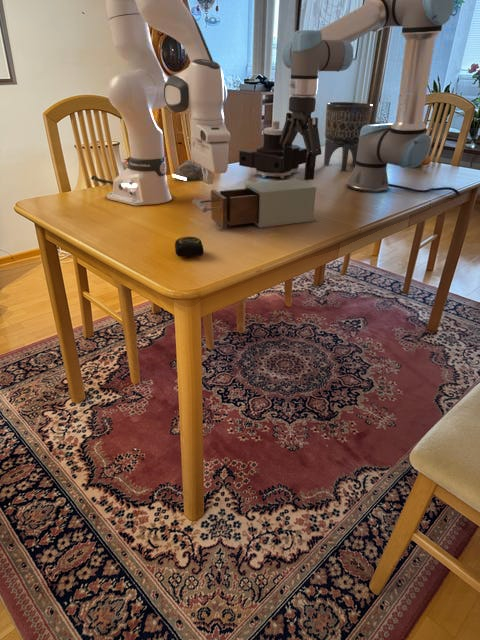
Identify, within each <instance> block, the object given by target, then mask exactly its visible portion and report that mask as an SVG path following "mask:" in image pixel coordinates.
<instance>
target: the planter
mask: <svg viewBox="0 0 480 640" xmlns="http://www.w3.org/2000/svg"><path fill="white" fill-rule="evenodd" d="M373 107H374V106H373V104H372V103H367V102H353V101H333V102H327V103H326V109H325V124H324V125H325V126H324V139H325V144H324V156H323V157H324V158H323V165H325V166H328V165H330V163H331V158H332V156H333V154H334V153H335V151H336V150H337V149H340V148H341V150H342V153H341V166H340V170H341V172H345V171H347V167H348V166H347V165H348V159H349V152H350V154H351V157H352V158H351V159H352V160H351V161H352V166H353V167H355V165H356V158H357V150H358V142H359V136H360V132H361V128H362V127H363V126H365V125H370V121H371V116H372V112H373Z"/></svg>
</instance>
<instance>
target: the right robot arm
mask: <svg viewBox="0 0 480 640" xmlns="http://www.w3.org/2000/svg"><path fill="white" fill-rule="evenodd" d="M454 9H455V0H365V1H364V2H363V4H362V5H361V6H360V7H358V8H356V9H354V10H353V11H351V12H349V13H347V14H345V15H344V16H342V17H340V18H337V19H336V20H334V21H333V22H331V23H329V24H328V25H326V26H324V27H321V28H320V29H319V30H317V29H316V30H315V29H306V30H305V29H299V30H296V31H294V33H293V35H292V40H290V41H288V42H286V44H285V45H284V47H283V49H282V62H283V65H284V66H285V67H286V68H287V69H290V83H289V95H291V96H290V97H289V98H288V111H289V112H286V115H285V122H284V125H283V127H282V128H283V131H282V135H281V138H280V144H282V147H283V166H282V170H291V162H292V147H293V146H292V145H293V143H294V141H295V139H296V138H297V135H298V133H299V134H300V135H301V136H302V140H303V143H304V147H305V149H306V150H307V153H308V154H307V155H306V163H304V165H305V167H304V181H312V180H314V179H315V169H316V162H317V156H321V155H322V146H321V140H320V133H319V118H318V117H317V116H316V117H312V113H315V111H316V108H317V107H316V106H317V98H316V96H317V95H318V85H319V73H320V72H337V73H338V72H344V71H346V70H348V69H349V68H350V67H351V66H352V65H353V61H354V57H355V50H354V46H353V44H352V43H353V42H355V41H356V40H358V39H360V38H362V37H363V36H365V35H367V34H369V33H370V32H374V33H377V32H378V31H381V30H382V29H385V28H386V29H387V28H391V27H401V36H403V38H404V39H405V45H404V53H403V60H402V70H401V77H400V83H399V84H400V85H399V94H398V101H397V109H396V118H395V121H394V122H393V123H379V124H376V123H375V124H369V125H365V126H363V127H362V128H361V132H360V136H359V142H358V150H357V158H356V165H355V166H354V167H353V171H351V174H350V176H349V179H348V182H347V187H348V188H349V189H351V190H354V191H358V192H363V193H364V192H365V193H382V192H386V191H388V189H389V187H390V188H395V189H401V190H406V191H410V192H414V193H420V194H421V193H422V194H423V193H424V194H425V193H429V192H436V191H451V192H454V193H455V194H456V195H460V194H461V193H460V192H459V190H457V189H456V188H455V187H450V186H445V187H443V186H442V187H431V188H426V189H416V188H413V187H412V188H411V187H407V186H404V185H397V184H392V183H389V178H388V173H387V172H388V171H387V166H388V165H392V166H396V167H400V168H402V169H403V168H407V169H414V168H417V167H418V166H419V165H420V164H421V163H422V162H423V161H424V159H425V158H427V157H428V155H429V153H430V150H431V146H432V139H431V136H430V135H429V134H428V133H426V131H427V125H426V124H425V122H424V121H423V120H424V119H423V118H424V113H425V106H426V100H427V95H428V94H427V93H428V85H429V79H430V73H431V67H432V59H433V54H434V48H435V47H434V46H435V39H436V38H437V37H438V36H439V35H440V34H441V33H442V30H443V29H442V28H443V25H445V24H446V23H448V22H449V21H450V19H451V16H452V15H453V12H454ZM284 139H285V140H284Z"/></svg>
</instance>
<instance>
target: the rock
mask: <svg viewBox="0 0 480 640" xmlns="http://www.w3.org/2000/svg"><path fill="white" fill-rule="evenodd" d="M175 175H177V176H181V177H185V178H186V180H182V179H179V178H175V179H176V180H180V181H187V182H189V181H196V180H197V181H198V180H200V179H201V178H204V176H203V173H202V166H201V165H200V164H198V163H196V162H194V161H191V160H188V159H185V161H184V162H183V163H181V165H180V166H178V167H177V168H176V172H175Z"/></svg>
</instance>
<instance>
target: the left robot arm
mask: <svg viewBox="0 0 480 640" xmlns="http://www.w3.org/2000/svg"><path fill="white" fill-rule="evenodd" d="M105 7H106V14H107V20H108V23H109V28H110V33H111V37H112V42H113V46H114V50H115V53H116V54H117V55H118V56H119V57H120V58H122V60H123V61H124V63H125V64H126V66H127V68H128V71H124V72H121V73H119V74H116V75H114V76H113V77H111V78H110V80H109V81H108V84H107V89H106V91H107V98H108V101H109V102H110V104H111V106H112V107H113V108H114V109H115V110H117V111H118V113H119V115H120V116H121V118H122V120H123V123H124V125H125V128H126V131H127V132H126V133H127V138H128V145H129V155H130V156H129V157H127V158H124V159H123V161H124V162H123V163H124V164H127V166H126V168H125V169H124V170H123V171H122V172H121V173H120V174H119V175H117V176H116V177H115V178H114V179H113V181H111V180H108V179H102V178H99V177H97V176H96V175H92V176H91V178H90V180H96V181H97V182H100V183H105V184H110V185H112V191H111V192H109V193H108V194H107V195H106V199H107V200H111V201H115V202H119V203H123V204H127V205H131V206H134V207H136V206H146V205H159V204H164V203H168V202H169V201H171V200H172V199H173V197H172V195H171V192H170V188H169V184H168V177H167V159H166V158H167V157H166V156H165V145H164V133H163V130H162V129H161V128H160V126H158V125H157V123H156V121H155V119H154V114H153V111H155V110H156V111H157V110H160V109H163V108H164V107H166V106H167V108H168V109H169V111H171V112H172V113H174V114H179V115H187V114H189V115H190V116H189V117H190V119H189V122H190V157H191V160H192V162H194V163H197V164H199V165H201V166H202V173H203V176H204V177H203V182H204V183H205V184H207V185H208V186H211V185H213V184H214V176H215V175H217V174H226V173H227V171H228V168H229V153H230V152H229V144H228V143H229V142H230V141H231V133H230V131H229V130H228V128H227V127H226V124H225V115H224V109H223V108H224V106H225V104H226V101H227V98H228V89H227V85H226V82H225V80H224V73H223V70H222V66H221V64H219V62H216V61H214V59H213V57H212V54H211V52H210V50H209V47H208V45H207V42H206V39H205V37H204V36H203V33H202V30H201V28H200V25H199V24H198V21H197V20H196V18H195V16H194V15H193V14H192V12H191V11H190V10H189V9H188V7H187V6H186V4H185V3H184V1H183V0H105ZM150 28H152V29H153V30H156V31H158V32H161V33H163V34H165V35H167V36H168V37H171V38H172V39H173V40H175V41H177V42H178V43H179V44H180V45H181V46H182V47H183V49H184V50H185V52H186V55H187V57H188V59H189V62H190V63H189V65H188V67H187V68H185V69H184V70H181V71H179V72H177V73H175V74H172V75H169V76H168V75H167V74H166V73H165V71H164V69H163V68H162V66H161V63H160V61H159V59H158V57H157V54H156V52H155V48H154V46H153V42H152V37H151V33H150ZM171 176H172V177H171V178H175V179H176V178H179V179H182V180H181V181H183V180H186V178H185V177H181V176H177V175H176V174H174V173H172V174H171ZM179 179H178V180H179ZM186 181H187V180H186Z"/></svg>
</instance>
